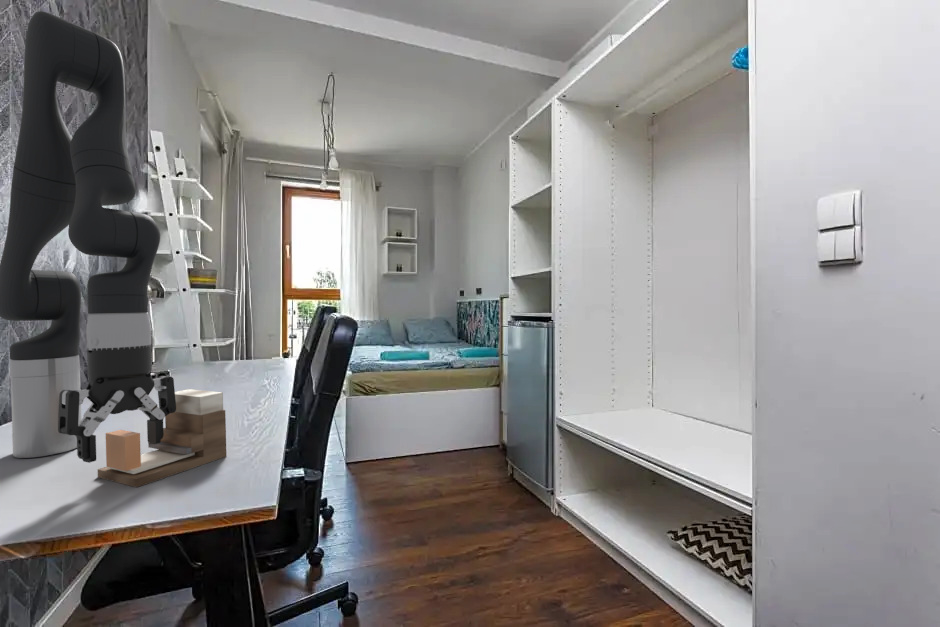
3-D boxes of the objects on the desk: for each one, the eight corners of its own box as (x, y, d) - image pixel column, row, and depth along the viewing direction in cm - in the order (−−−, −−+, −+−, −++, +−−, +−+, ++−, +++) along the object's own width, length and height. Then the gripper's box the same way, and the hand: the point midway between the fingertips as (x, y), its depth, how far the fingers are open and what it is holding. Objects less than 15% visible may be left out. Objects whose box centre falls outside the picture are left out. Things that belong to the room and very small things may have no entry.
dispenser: (97, 477, 67) (95, 405, 67) (189, 449, 80) (187, 389, 80) (136, 487, 63) (134, 410, 63) (226, 456, 76) (224, 392, 75)
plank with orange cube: (102, 468, 66) (101, 432, 66) (168, 449, 75) (167, 417, 75) (129, 475, 63) (128, 437, 63) (194, 454, 72) (193, 421, 72)
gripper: (155, 339, 74) (158, 436, 74) (45, 347, 61) (49, 464, 61) (184, 340, 70) (187, 441, 71) (74, 349, 57) (78, 472, 58)
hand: (123, 451), depth 66 cm, fingers open, 8 cm apart
